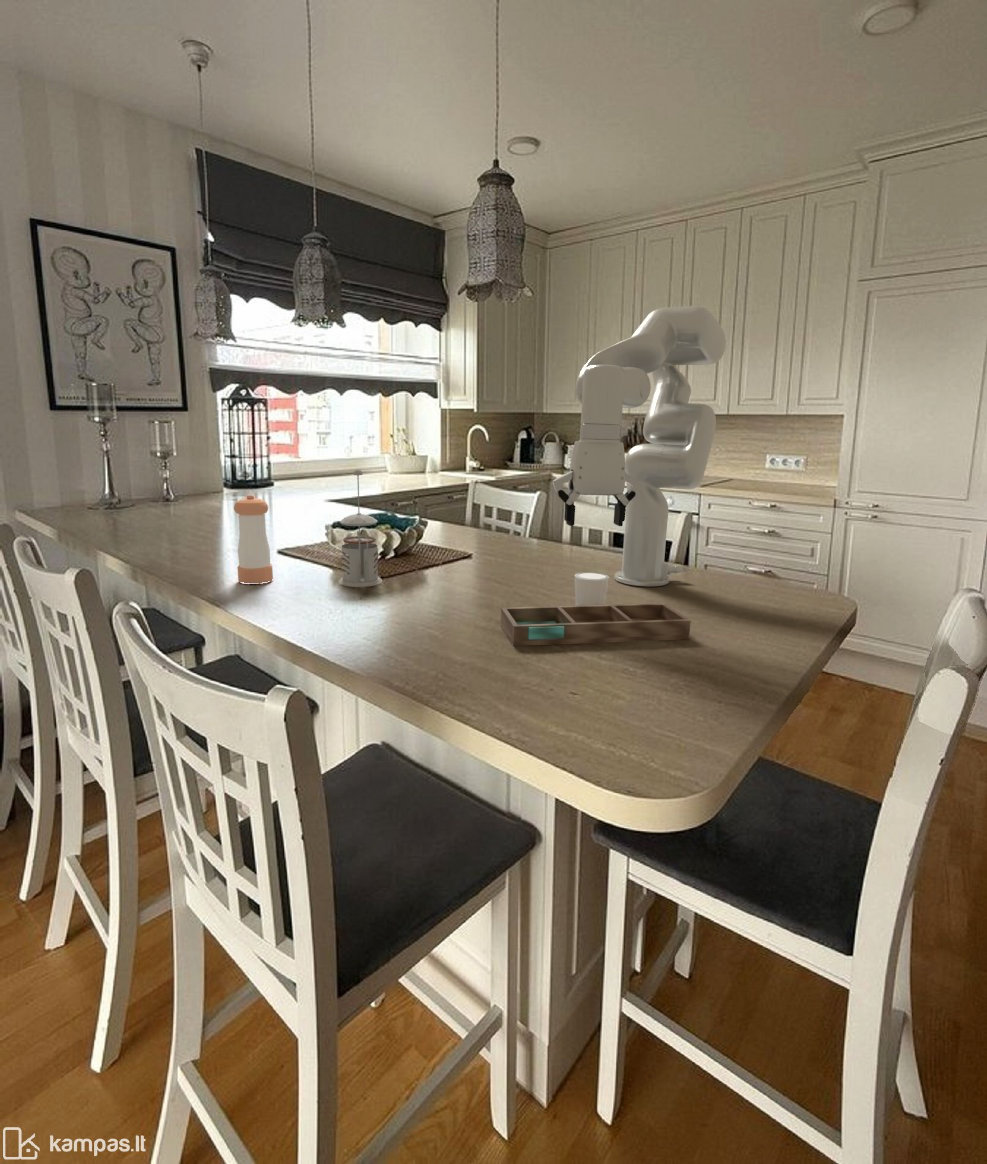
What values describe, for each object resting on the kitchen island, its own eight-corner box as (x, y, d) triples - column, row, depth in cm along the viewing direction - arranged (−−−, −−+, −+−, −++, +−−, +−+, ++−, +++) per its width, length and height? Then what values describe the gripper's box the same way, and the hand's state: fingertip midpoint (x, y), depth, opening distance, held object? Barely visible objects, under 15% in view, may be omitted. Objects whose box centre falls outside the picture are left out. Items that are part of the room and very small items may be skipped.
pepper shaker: (277, 582, 149) (272, 496, 144) (243, 586, 145) (237, 497, 140) (267, 575, 154) (262, 492, 150) (234, 579, 150) (228, 493, 146)
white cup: (609, 607, 136) (612, 573, 134) (603, 616, 130) (606, 581, 128) (576, 603, 138) (578, 570, 136) (568, 612, 132) (570, 577, 130)
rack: (662, 620, 128) (664, 603, 127) (690, 640, 117) (692, 621, 116) (500, 625, 122) (501, 607, 121) (513, 646, 111) (514, 627, 111)
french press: (378, 575, 158) (376, 467, 151) (387, 587, 147) (385, 472, 141) (336, 577, 154) (332, 467, 148) (341, 590, 144) (337, 472, 138)
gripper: (636, 435, 131) (629, 522, 135) (550, 432, 128) (545, 522, 132) (651, 436, 124) (644, 528, 127) (561, 433, 120) (556, 528, 124)
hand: (594, 525), depth 130 cm, fingers open, 9 cm apart
